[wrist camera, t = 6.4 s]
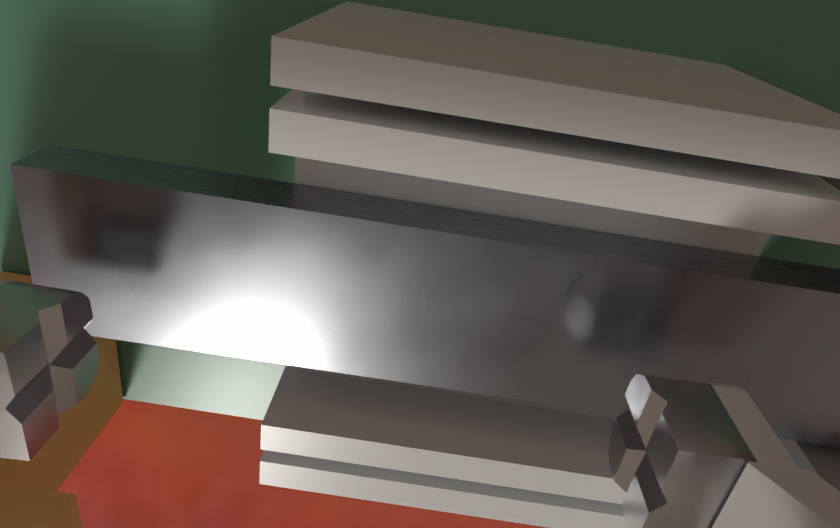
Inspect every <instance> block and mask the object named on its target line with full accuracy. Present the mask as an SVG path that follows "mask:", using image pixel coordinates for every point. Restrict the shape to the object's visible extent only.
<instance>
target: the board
mask: <svg viewBox="0 0 840 528" xmlns="http://www.w3.org/2000/svg"><path fill="white" fill-rule="evenodd" d="M48 145H55V146H61V147H68V148H74V149H80V150H87V151H93V152H99V153H106V154H112V155H119V156H125V157H131V158H138V159H144V160H150V161H157V162H163V163H169V164H176V165H182V166H188V167H195V168H201V169H207V170H214V171H220V172H227V173H233V174H239V175H246V176H252V177H258V178H265V179H271V180H277V181H284V182H290V183H296V184H303V185H309V186H315V187H322V188H328V189H335V190H341V191H347V192H354V193H360V194H366V195H373V196H379V197H385V198H392V199H398V200H404V201H411V202H417V203H424V204H430V205H436V206H443V207H449V208H455V209H462V210H468V211H474V212H481V213H487V214H493V215H500V216H506V217H512V218H519V219H525V220H532V221H538V222H544V223H551V224H557V225H563V226H570V227H576V228H582V229H589V230H595V231H601V232H608V233H614V234H620V235H627V236H633V237H640V238H646V239H652V240H659V241H665V242H671V243H678V244H684V245H690V246H697V247H703V248H709V249H716V250H722V251H728V252H735V253H741V254H748V255H754V256H760V257H767V258H773V259H779V260H786V261H792V262H798V263H805V264H811V265H817V266H824V267H830V268H837V269H840V0H0V271H3V272H10V273H16V274H22V275H29V276H31V273H30V268H29V262H28V257H27V252H26V247H25V242H24V236H23V231H22V226H21V221H20V216H19V210H18V205H17V200H16V195H15V190H14V184H13V179H12V174H11V169H10V164H11V163H13V162H15V161H18V160H20V159H22V158H24V157H26V156H28V155H30V154H32V153H34V152H36V151H38V150H40V149H42V148H44V147H46V146H48ZM116 344H117V352H118V360H119V369H120V377H121V385H122V394H123V399H128V400H135V401H141V402H148V403H154V404H161V405H168V406H174V407H181V408H187V409H194V410H200V411H207V412H213V413H220V414H226V415H233V416H239V417H246V418H252V419H259V420H263V421H262V424H261V448H260V449H262V450H264V453H263V455H262V458H261V460H260V484H264V485H271V486H277V487H284V488H291V489H297V490H304V491H311V492H317V493H324V494H330V495H337V496H344V497H350V498H357V499H363V500H370V501H377V502H383V503H390V504H397V505H403V506H410V507H416V508H423V509H430V510H436V511H443V512H449V513H456V514H463V515H469V516H476V517H482V518H489V519H496V520H502V521H509V522H516V523H522V524H529V525H535V526H542V527H549V528H628V526H627V523H626V519H625V516H624V513H623V510H622V503H623V501H624V498H625V496H626V494H627V493H626V492H625V491H624V490H623V489H622V488H621V487H620V486H619V485H618V484H617V483H616V482H615V481H614V480H613V476H612V473H611V469H610V463H609V454H608V452H609V441H610V434H611V431H612V428H613V425H614V422H615V419H616V417H618V416H619V414H613V413H606V412H599V411H592V410H586V409H579V408H572V407H565V406H559V405H552V404H545V403H539V402H532V401H525V400H518V399H512V398H505V397H498V396H491V395H485V394H478V393H471V392H465V391H458V390H451V389H444V388H438V387H431V386H424V385H417V384H411V383H404V382H397V381H391V380H384V379H377V378H370V377H364V376H357V375H350V374H343V373H337V372H330V371H323V370H317V369H310V368H303V367H296V366H290V365H283V364H276V363H269V362H263V361H256V360H249V359H243V358H236V357H229V356H222V355H216V354H209V353H202V352H195V351H189V350H182V349H175V348H169V347H162V346H155V345H148V344H142V343H135V342H128V341H122V340H116ZM778 439H779V440H780V442H781V443H782V445H783V446H784V448H785V449H786V451H787V452H788V453H789V455H790V456H791V458H792V459H793V461H794V462H795V464H796V465H797V467H798V468H799V469H804V470H810V471H812V472H813V473H815V474H816V475H817V476H819V477H820V478H822V479H823V480H825V481H826V482H827V483H829V484H830V485H832V486H833V487H835V488H836V489H837V490H839V491H840V447H834V446H828V445H821V444H814V443H808V442H801V441H794V440H787V439H781V438H778Z"/></svg>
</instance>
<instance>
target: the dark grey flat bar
mask: <svg viewBox="0 0 840 528" xmlns="http://www.w3.org/2000/svg"><path fill="white" fill-rule="evenodd" d="M10 169H11V174H12V179H13V184H14V190H15V195H16V200H17V205H18V210H19V216H20V221H21V226H22V231H23V236H24V242H25V247H26V252H27V257H28V262H29V268H30V273H31V278H32V283H33V284H36V285H42V286H48V287H54V288H60V289H66V290H72V291H78V292H82V293H83V294H84V295H86V296H87V297H88V298H89V299H90V303H91V309H92V314H93V319H92V320H91V321H90V323H89V324H88V325H87V326H86V328H85V330H86V331H87V332H88V333H89V334H90V335H91V336H95V337H101V338H108V339H115V340H122V341H128V342H135V343H142V344H148V345H155V346H162V347H169V348H175V349H182V350H189V351H195V352H202V353H209V354H216V355H222V356H229V357H236V358H243V359H249V360H256V361H263V362H269V363H276V364H283V365H290V366H296V367H303V368H310V369H317V370H323V371H330V372H337V373H343V374H350V375H357V376H364V377H370V378H377V379H384V380H391V381H397V382H404V383H411V384H417V385H424V386H431V387H438V388H444V389H451V390H458V391H465V392H471V393H478V394H485V395H491V396H498V397H505V398H512V399H518V400H525V401H532V402H539V403H545V404H552V405H559V406H565V407H572V408H579V409H586V410H592V411H599V412H606V413H613V414H619V415H621V414H622V413H624V412H625V411H627V410H628V409H629V408H630V407H629V405H628V402H627V399H626V397H625V393H626V391H627V388H628V386H629V384H630V381H631V380H632V379H633V378H634V376H635V375H636V374H641V375H649V376H656V377H664V378H671V379H679V380H686V381H694V382H701V383H704V382H708V383H717V384H726V385H734V386H739V387H740V388H742V389H744V390H745V391H747V393H748V394H749V396H750V397H751V399H752V400H753V402H754V403H755V405H756V406H757V408H758V409H759V410H760V412H761V413H762V415H763V416H764V418H765V419H766V421H767V422H768V424H769V425H770V427H771V428H772V430H773V431H774V433H775V434H776V436H777V437H778V438H781V439H787V440H794V441H801V442H808V443H814V444H821V445H828V446H834V447H840V269H837V268H830V267H824V266H817V265H811V264H805V263H798V262H792V261H786V260H779V259H773V258H767V257H760V256H754V255H748V254H741V253H735V252H728V251H722V250H716V249H709V248H703V247H697V246H690V245H684V244H678V243H671V242H665V241H659V240H652V239H646V238H640V237H633V236H627V235H620V234H614V233H608V232H601V231H595V230H589V229H582V228H576V227H570V226H563V225H557V224H551V223H544V222H538V221H532V220H525V219H519V218H512V217H506V216H500V215H493V214H487V213H481V212H474V211H468V210H462V209H455V208H449V207H443V206H436V205H430V204H424V203H417V202H411V201H404V200H398V199H392V198H385V197H379V196H373V195H366V194H360V193H354V192H347V191H341V190H335V189H328V188H322V187H315V186H309V185H303V184H296V183H290V182H284V181H277V180H271V179H265V178H258V177H252V176H246V175H239V174H233V173H227V172H220V171H214V170H207V169H201V168H195V167H188V166H182V165H176V164H169V163H163V162H157V161H150V160H144V159H138V158H131V157H125V156H119V155H112V154H106V153H99V152H93V151H87V150H80V149H74V148H68V147H61V146H55V145H48V146H46V147H44V148H42V149H40V150H38V151H36V152H34V153H32V154H30V155H28V156H26V157H24V158H22V159H20V160H18V161H15V162H13V163H11V164H10Z"/></svg>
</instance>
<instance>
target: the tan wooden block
mask: <svg viewBox="0 0 840 528" xmlns="http://www.w3.org/2000/svg"><path fill="white" fill-rule="evenodd" d="M0 279H5V280H10V281H18V282H24V283H30V284H33V283H32V278H31V276H29V275H22V274H16V273H10V272H3V271H0ZM92 338H93V339H94V340H95V341H96V342H97V347H98V354H99V359H98V368H97V373H96V376H95V378H94V381H93V383H92V386H91V388H90V390H89V392H88V393H87V394H86V395H85V397H84V398H83V399H82V400H81V402H80V403H79V404H78V405H76V406H73V407H71V408H69V409H67V410H65V411H63V412H61V413H58V415H59V422H60V427H59V428H58V429H57V430H56V431H55V432H54V434H53V435H52V436H51V437H50V438H49V440H48V441H47V442H46V443H45V444H44V445H43V447H42V448H41V449H40V450H39V451H38V452H37V454H36V455H35V456H34V457H33V458H32V459H31V461H25V460H16V459H7V458H0V528H82V525H81V520H80V514H79V509H78V504H77V498H76V495H75V494H69V493H62V492H56V491H57V490H58V489H59V487H60V486H61V485H62V483H63V482H64V480H65V479H66V478H67V476H68V475H69V474H70V472H71V471H72V470H73V468H74V467H75V466H76V464H77V463H78V462H79V460H80V459H81V458H82V456H83V455H84V454H85V452H86V451H87V450H88V448H89V447H90V446H91V444H92V443H93V441H94V440H95V439H96V437H97V436H98V435H99V433H100V432H101V431H102V429H103V428H104V427H105V425H106V424H107V423H108V421H109V420H110V419H111V417H112V416H113V415H114V413H115V412H116V411H117V409H118V408H119V406H120V405H121V404H122V402H123V394H122V385H121V377H120V369H119V360H118V352H117V344H116V340H115V339H108V338H101V337H95V336H92Z"/></svg>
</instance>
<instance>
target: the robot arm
mask: <svg viewBox="0 0 840 528" xmlns="http://www.w3.org/2000/svg"><path fill="white" fill-rule="evenodd" d="M92 319H93V314H92V309H91V303H90V299H89V298H88V297H87V296H86V295H84V294H83V293H82V292H78V291H72V290H66V289H60V288H54V287H48V286H42V285H36V284H30V283H24V282H18V281H10V280H5V279H0V458H7V459H16V460H25V461H31V459H32V458H33V457H34V456H35V455H36V454H37V452H38V451H39V450H40V449H41V448H42V447H43V445H44V444H45V443H46V442H47V441H48V440H49V438H50V437H51V436H52V435H53V434H54V432H55V431H56V430H57V429H58V428H59V427H60V422H59V415H58V413H61V412H63V411H65V410H67V409H69V408H71V407H73V406H76V405H78V404H79V403H80V402H81V400H82V399H83V398H84V397H85V395H86V394H87V393H88V392H89V390H90V388H91V386H92V383H93V381H94V378H95V376H96V373H97V368H98V359H99V354H98V347H97V342H96V341H95V340H94V339H93V338H92V336H91V335H90V334H89V333H88V332H87V331H86V330H85V328H86V326H87V325H88V324H89V323H90V321H91V320H92ZM625 397H626V399H627V402H628V405H629V407H630V408H629V409H628V410H627V411H625V412H624V413H622V414H621V415H619V416H618V417H616V419H615V422H614V425H613V428H612V431H611V434H610V441H609V452H608V454H609V463H610V469H611V473H612V476H613V480H614V481H615V482H616V483H617V484H618V485H619V486H620V487H621V488H622V489H623V490H624V491H625V492H626V493H627V494H626V496H625V498H624V501H623V503H622V510H623V513H624V516H625V519H626V523H627V526H628V528H840V491H839V490H837V489H836V488H835V487H833V486H832V485H830V484H829V483H827V482H826V481H825V480H823V479H822V478H820V477H819V476H817V475H816V474H815V473H813V472H812V471H810V470H804V469H799V468H798V467H797V465H796V464H795V462H794V461H793V459H792V458H791V456H790V455H789V453H788V452H787V451H786V449H785V448H784V446H783V445H782V443H781V442H780V440H779V439H778V437H777V436H776V434H775V433H774V431H773V430H772V428H771V427H770V425H769V424H768V422H767V421H766V419H765V418H764V416H763V415H762V413H761V412H760V410H759V409H758V408H757V406H756V405H755V403H754V402H753V400H752V399H751V397H750V396H749V394H748V393H747V391H745V390H744V389H742V388H740V387H739V386H734V385H726V384H717V383H708V382H704V383H701V382H694V381H686V380H679V379H671V378H664V377H656V376H649V375H641V374H636V375H635V376H634V378H633V379H632V380H631V381H630V384H629V386H628V388H627V391H626V393H625Z"/></svg>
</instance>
